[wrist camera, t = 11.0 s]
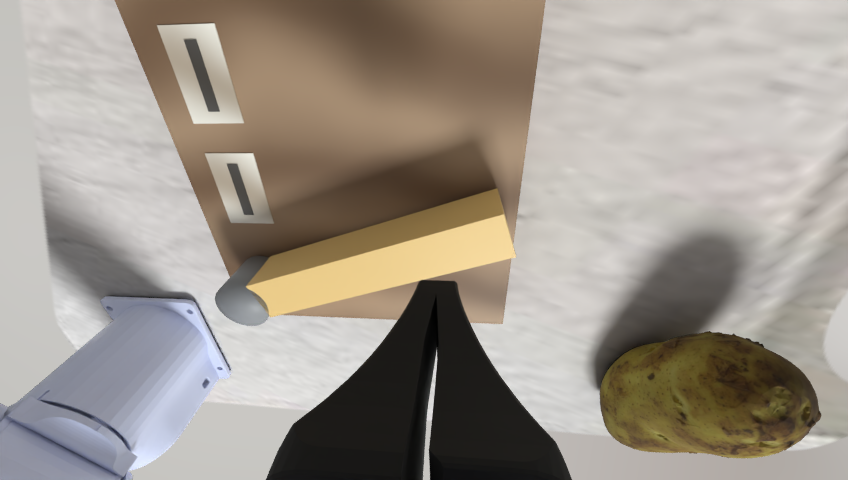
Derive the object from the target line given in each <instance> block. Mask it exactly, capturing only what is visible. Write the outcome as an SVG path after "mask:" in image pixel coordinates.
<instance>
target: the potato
mask: <svg viewBox="0 0 848 480" xmlns="http://www.w3.org/2000/svg"><path fill="white" fill-rule="evenodd" d="M600 405H601V412H602V416H603V420H604V423H605V426H606V428H607V430H608V432H609V433H610V434H611V435H612V436H613V437H614V438H615V439H616V440H617V441H619V442H620V443H622V444H624V445H626V446H628V447H631V448H633V449H637V450H641V451H648V452H666V453H676V452H689V453H707V454H714V455H718V456H722V457H728V458H756V457H763V456H768V455H772V454H776V453H779V452H781V451H783V450H786V449H788V448H789V447H791V446H793V445H794V444H796V443H798V442H799V441H801V440H802V439H803V438H804V437H805V436H806V435H807V434H808V433H809V431H810V429H811V428H812V427H813V426H814V425H815V424H816V422H817V421H819V420H820V417H821V413H820V411H819V407H818V400H817V396H816V393H815V391H814V389H813V387H812V385H811V383H810V381H809V380H808V378H807V377H806V376H805V374H804V373H803V372H802V371H801V370H800V369H799V368H797V367H796V366H795V365H794V364H792V363H791V362H790V361H788V360H787V359H785V358H783V357H782V356H780V355H778V354H776V353H774V352H772V351H770V350H767V349H765V348H764V346H763V344H759V342H753V341H751V340H750V339H748V338H746V339H745V338H742V337H739V336H736V335H734V334H733V335H729V334H722V333H719V332H717V333H712V332H710V331H708V332H704V333H699V334H690V335H685V336H680V337H676V338H672V339H670V340H668V341H666V342H659V343H651V344H646V345H642V346H639V347H636V348H633V349H631V350H629V351H628V352H626V353H625V354H623V355H622V356H621V357H620V358H618V359H617V360H616V361H615V362H614V363H613V364H612V365H611V367H610V368H609V369H608V371H607V372H606V374H605V376H604V378H603V380H602V383H601V387H600Z"/></svg>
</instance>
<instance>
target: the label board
mask: <svg viewBox="0 0 848 480" xmlns="http://www.w3.org/2000/svg"><path fill="white" fill-rule="evenodd" d="M115 2H116V4H117V7H118V9H119V12H120V14H121V16H122V19H123V21H124V24H125V26H126V28H127V31H128V33H129V36H130V38H131V40H132V43H133V45H134V48H135V50H136V52H137V55H138V57H139V60H140V62H141V64H142V67H143V69H144V72H145V74H146V76H147V79H148V81H149V84H150V86H151V88H152V91H153V93H154V96H155V98H156V100H157V103H158V105H159V108H160V110H161V112H162V115H163V117H164V120H165V122H166V124H167V127H168V129H169V132H170V134H171V136H172V139H173V141H174V144H175V146H176V148H177V151H178V153H179V156H180V158H181V160H182V163H183V165H184V168H185V170H186V173H187V175H188V177H189V180H190V182H191V185H192V187H193V189H194V192H195V194H196V197H197V199H198V201H199V204H200V206H201V209H202V211H203V213H204V216H205V218H206V221H207V223H208V225H209V228H210V230H211V233H212V235H213V237H214V240H215V242H216V245H217V247H218V249H219V252H220V254H221V257H222V259H223V261H224V264H225V266H226V269H227V271H228V273H229V276H230V277H231V276H232V275H233V274H234V273H235V272H236V271H237V270H238V268H239V267H240V266H241V265H242V264H243V263H244V262H245V261H246V260H247V259H248V258H250V257H253V256H265V257H269V258H270V256H273V255H277V254H280V253H283V252H287V251H290V250H293V249H297V248H300V247H303V246H307V245H310V244H313V243H317V242H320V241H323V240H327V239H330V238H333V237H337V236H340V235H343V234H347V233H350V232H353V231H357V230H360V229H363V228H367V227H370V226H373V225H377V224H380V223H383V222H386V221H390V220H393V219H396V218H400V217H403V216H406V215H410V214H413V213H416V212H420V211H423V210H426V209H430V208H433V207H436V206H440V205H443V204H446V203H450V202H453V201H456V200H460V199H463V198H466V197H470V196H473V195H476V194H480V193H483V192H486V191H490V190H493V189H496V188H498V192H499V195H500V199H501V202H502V206H503V210H504V213H505V217H506V220H507V224H508V227H509V231H510V235H511V239H512V243H513V242H514V234H515V227H516V219H517V211H518V204H519V196H520V189H521V181H522V174H523V166H524V159H525V151H526V144H527V136H528V128H529V121H530V113H531V106H532V98H533V91H534V83H535V76H536V68H537V60H538V53H539V45H540V38H541V30H542V23H543V15H544V8H545V0H115ZM510 264H511V258H510V259H506V260H502V261H498V262H494V263H490V264H486V265H482V266H478V267H474V268H470V269H466V270H462V271H457V272H453V273H449V274H445V275H441V276H437V277H433V278H429V279H425V280H441V281H455V282H456V283H457V284H458V291H459V295H460V298H461V302H462V305H463V307H464V310H465V313H466V315H467V317H468V320H469V322H470V323H491V324H503V317H504V310H505V302H506V295H507V287H508V279H509V272H510ZM418 282H419V281H417V282H413V283H408V284H404V285H400V286H396V287H392V288H388V289H384V290H380V291H376V292H372V293H368V294H364V295H359V296H355V297H351V298H347V299H343V300H339V301H335V302H331V303H327V304H323V305H319V306H315V307H310V308H306V309H302V310H298V311H294V312H290V313H286V314H282V315H297V316H321V317H346V318H370V319H394V320H398V319H399V318H400V316H401V315H402V313H403V311H404V310H405V308H406V306H407V305H408V303H409V301H410V299H411V298H412V296H413V294H414V292H415V289H416V287H417V285H418Z"/></svg>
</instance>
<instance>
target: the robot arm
mask: <svg viewBox="0 0 848 480" xmlns="http://www.w3.org/2000/svg"><path fill="white" fill-rule="evenodd" d="M100 302H101V304H102V305H103V307H104V308H105V310H106V311H107V313H108V314H109V315H110V317H111V318H112V320H113V321H112V322H111V323H110V324H109V325H107V326H106V327H105V328H104V329H103V330H101V331H100V332H99V333H98V334H97V335H96V336H94V337H93V338H92V339H91V340H90V341H88V342H87V343H86V344H85V345H84V346H83V347H81V348H80V349H79V350H78V351H77V352H76V353H74V354H73V355H72V356H71V357H70V358H68V359H67V360H66V361H65V362H64V363H63V364H61V365H60V366H59V367H58V368H57V369H56V370H54V371H53V372H52V373H51V374H50V375H49V376H47V377H46V378H45V379H44V380H43V381H41V382H40V383H39V384H38V385H37V386H35V387H34V388H33V389H32V390H31V391H30V392H29V393H27V394H26V395H25V396H24V397H23V398H21V399H20V400H19V401H18V402H17V403H15V404H13V405H11V406H9V407H7V406H5V405H3V404H1V403H0V480H133V476H132V474H131V473H130V472H128V471H130V470H134V469H137V468H140V467H143V466H145V465H147V464H149V463H150V462H152V461H154V460H155V459H157V458H158V457H159V456H160V455H162V454H163V453H164V452H166V451H167V450H168V449H169V448H170V447H171V446H172V445H173V444H174V443H175V442H176V440H177V439H178V438H179V437H180V435H181V434H182V432H183V431H184V429H185V428H186V426H187V425H188V423H189V422H190V421H191V419H192V418H193V416H194V415H195V413H196V412H197V410H198V409H199V407H200V406H201V404H202V403H203V401H204V400H205V399H206V397H207V396H208V394H209V393H210V391H211V390H212V388H213V387H214V385H215V384H216V382H217V381H218V379H219V378H224V379H226V378H229V376H230V375H231V372H230V370H229V368H228V366H227V364H226V362H225V360H224V358H223V356H222V354H221V352H220V350H219V348H218V347H217V345H216V343H215V341H214V339H213V337H212V335H211V333H210V331H209V329H208V327H207V325H206V323H205V321H204V319H203V317H202V315H201V313H200V311H199V309H198V307H197V305H196V304H195V302H193V301H192V300H188V299H163V298H137V297H111V296H106V297H104V298H103V299H101V301H100ZM436 350H437V358H438V360H437V372H436V384H435V395H434V406H433V417H432V427H431V437H430V446H429V458H430V459H429V460H430V480H572V479H571V477H570V474H569V471H568V468H567V466H566V463H565V461H564V459H563V456H562V454H561V452H560V450H559V448H558V446H557V444H556V442H555V441H554V440H553V439H552V438H551V437H550V435H549V434H548V433H547V432H546V431H545V430H544V429H543V428H542V427H541V426H540V425H539V424H538V423H537V421H536V420H535V419H534V418H533V417H532V416H531V415H530V414H529V412H528V411H527V410H526V409H525V408H524V406H523V405H522V404H521V403H520V402H519V400H518V399H517V398H516V396H515V395H514V394H513V393H512V391H511V390H510V389H509V387H508V386H507V385H506V383H505V382H504V381H503V379H502V378H501V377H500V375H499V374H498V372H497V371H496V369H495V368H494V366H493V365H492V363H491V361H490V360H489V358H488V357H487V355H486V353H485V351H484V350H483V348H482V346H481V344H480V343H479V341H478V339H477V337H476V335H475V333H474V331H473V329H472V327H471V324H470V322H469V320H468V317H467V315H466V313H465V310H464V307H463V305H462V302H461V298H460V295H459V291H458V284H457V283H456V282H455V281H441V280H421V281H419V282H418V285H417V287H416V289H415V292H414V294H413V296H412V298H411V299H410V301H409V303H408V305H407V306H406V308H405V310H404V311H403V313H402V315H401V316H400V318H399V319H398V321H397V322H396V324H395V325H394V327H393V328H392V329H391V331H390V332H389V334H388V335H387V336H386V338H385V339H384V340H383V342H382V343H381V344H380V345H379V347H378V348H377V349H376V350H375V351H374V352H373V354H372V355H371V356H370V357H369V358H368V359H367V360H366V361H365V362H364V363H363V365H362V366H361V367H360V368H359V369H358V370H357V371H356V372H355V373H354V374H353V375H352V376H351V377H350V378H349V379H348V380H347V381H345V382H344V383H343V384H342V385H341V386H340V387H339V388H338V389H336V390H335V391H334V392H333V393H332V394H331V395H330V396H329V397H328V398H326V399H325V400H324V401H323V402H321V403H320V404H319V405H318V406H316V407H315V408H314V409H312V410H311V411H310V412H308V413H307V414H306V415H305V416H303V417H302V418H301V419H299V420H298V421H297V422H296V423H294V424H293V425H292V427H291V429H290V430H289V432H288V434H287V435H286V437H285V439H284V441H283V443H282V445H281V447H280V448H279V450H278V452H277V455H276V457H275V459H274V462H273V464H272V466H271V469H270V471H269V474H268V476H267V479H266V480H423V465H424V449H425V448H424V447H425V434H426V419H427V409H428V401H429V394H430V388H431V382H432V375H433V369H434V363H435V356H436Z"/></svg>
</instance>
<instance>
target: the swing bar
mask: <svg viewBox="0 0 848 480" xmlns="http://www.w3.org/2000/svg"><path fill="white" fill-rule="evenodd" d="M515 257H516V254H515V251H514V247H513V243H512V239H511V235H510V231H509V227H508V224H507V220H506V217H505V213H504V210H503V206H502V202H501V199H500V195H499V192H498V188H496V189H493V190H490V191H486V192H483V193H480V194H476V195H473V196H470V197H466V198H463V199H460V200H456V201H453V202H450V203H446V204H443V205H440V206H436V207H433V208H430V209H426V210H423V211H420V212H416V213H413V214H410V215H406V216H403V217H400V218H396V219H393V220H390V221H386V222H383V223H380V224H377V225H373V226H370V227H367V228H363V229H360V230H357V231H353V232H350V233H347V234H343V235H340V236H337V237H333V238H330V239H327V240H323V241H320V242H317V243H313V244H310V245H307V246H303V247H300V248H297V249H293V250H290V251H287V252H283V253H280V254H277V255H273V256H270V258H269V257H265V256H253V257H250V258H248V259H247V260H246V261H245V262H244V263H243V264H242V265H241V266H240V267H239V268H238V270H237V271H236V272H235V273H234V274H233V275H232V276H231V277H230V278H229V279H228V281H227V282H226V283H225V284H224V285H223V286H222V287H221V288H220V289H219V290H218V292H217V293H216V296H215V301H216V305H217V307H218V308H219V310H220V311H221V312H222V313H223V314H224V315H225V316H226V317H227V318H229V319H230V320H232V321H234V322H236V323H239V324H242V325H247V326H256V325H260V324H262V323H264V322H265V321H266V320H267V319H268V317H269V316H270V317H274V316H278V315H282V314H286V313H290V312H294V311H298V310H302V309H306V308H310V307H315V306H319V305H323V304H327V303H331V302H335V301H339V300H343V299H347V298H351V297H355V296H359V295H364V294H368V293H372V292H376V291H380V290H384V289H388V288H392V287H396V286H400V285H404V284H408V283H413V282H417V281H421V280H425V279H429V278H433V277H437V276H441V275H445V274H449V273H453V272H457V271H462V270H466V269H470V268H474V267H478V266H482V265H486V264H490V263H494V262H498V261H502V260H506V259H510V258H515Z"/></svg>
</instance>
